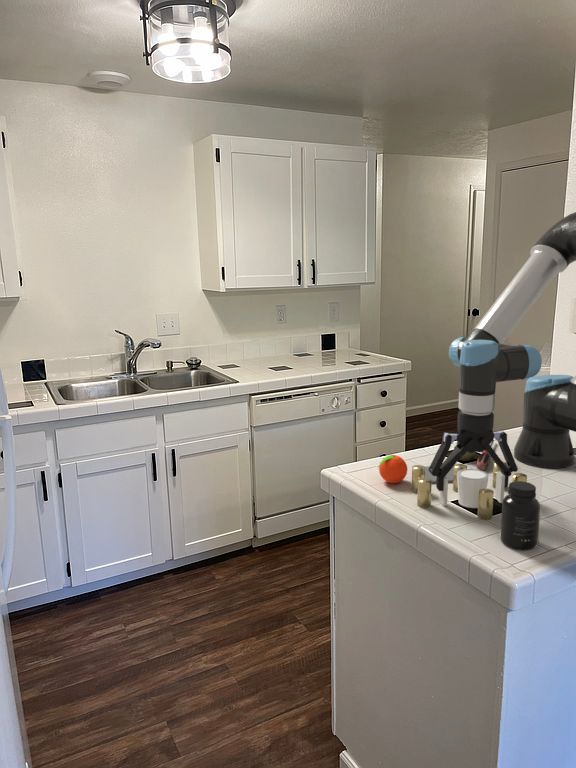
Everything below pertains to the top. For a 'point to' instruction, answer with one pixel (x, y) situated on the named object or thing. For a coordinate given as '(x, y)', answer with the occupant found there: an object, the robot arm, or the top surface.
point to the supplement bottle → (520, 516)
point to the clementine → (393, 469)
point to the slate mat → (434, 478)
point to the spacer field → (484, 498)
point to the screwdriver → (483, 459)
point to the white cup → (470, 486)
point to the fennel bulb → (467, 456)
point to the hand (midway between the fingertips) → (471, 502)
